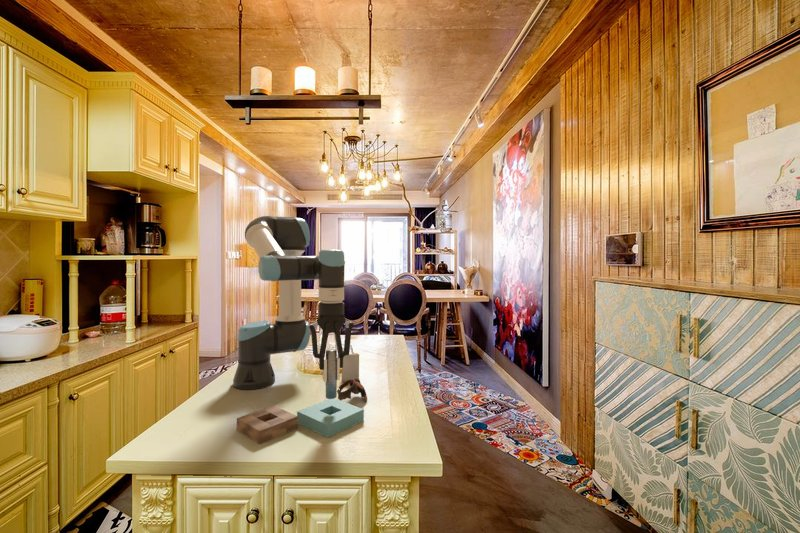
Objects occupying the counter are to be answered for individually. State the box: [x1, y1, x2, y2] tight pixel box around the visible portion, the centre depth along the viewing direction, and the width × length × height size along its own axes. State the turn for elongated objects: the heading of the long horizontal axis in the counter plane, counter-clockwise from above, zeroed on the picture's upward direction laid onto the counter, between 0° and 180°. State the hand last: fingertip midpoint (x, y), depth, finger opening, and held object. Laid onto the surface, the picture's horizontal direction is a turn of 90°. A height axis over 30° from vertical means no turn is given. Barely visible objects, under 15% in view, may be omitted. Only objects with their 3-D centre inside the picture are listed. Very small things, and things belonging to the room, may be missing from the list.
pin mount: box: [236, 405, 299, 444], centre depth 110 cm, size 12×12×4 cm
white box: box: [341, 353, 360, 381], centre depth 154 cm, size 4×7×10 cm, turn 95°
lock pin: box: [325, 348, 338, 400], centre depth 114 cm, size 3×3×14 cm
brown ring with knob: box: [337, 378, 368, 403], centre depth 133 cm, size 12×10×8 cm
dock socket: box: [296, 398, 365, 438], centre depth 115 cm, size 14×14×4 cm
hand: (331, 379), depth 114 cm, fingers closed on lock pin, 3 cm apart
